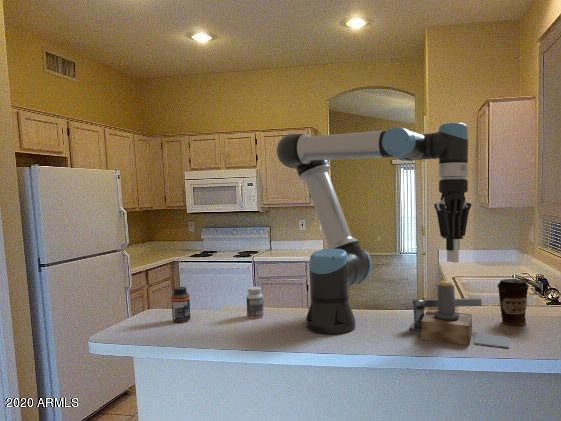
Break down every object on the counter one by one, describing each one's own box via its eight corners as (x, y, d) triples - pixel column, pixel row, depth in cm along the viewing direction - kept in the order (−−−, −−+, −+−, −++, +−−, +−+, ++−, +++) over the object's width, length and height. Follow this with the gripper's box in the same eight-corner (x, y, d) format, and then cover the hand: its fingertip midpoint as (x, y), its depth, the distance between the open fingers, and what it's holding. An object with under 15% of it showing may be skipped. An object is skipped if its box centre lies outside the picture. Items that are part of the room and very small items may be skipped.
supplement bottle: (177, 318, 139) (176, 285, 139) (193, 318, 138) (192, 285, 138) (169, 323, 133) (167, 289, 133) (185, 323, 132) (184, 289, 132)
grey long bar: (414, 308, 118) (414, 301, 118) (411, 305, 121) (410, 298, 121) (483, 307, 117) (483, 300, 117) (477, 304, 120) (477, 297, 120)
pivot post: (409, 329, 118) (408, 308, 118) (412, 325, 123) (411, 304, 123) (427, 332, 116) (426, 310, 116) (429, 327, 120) (428, 306, 120)
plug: (433, 337, 112) (431, 283, 111) (436, 330, 117) (435, 279, 117) (458, 340, 108) (457, 285, 108) (460, 333, 114) (459, 280, 114)
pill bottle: (248, 314, 141) (247, 286, 141) (264, 314, 140) (263, 286, 140) (245, 319, 135) (244, 289, 135) (262, 319, 135) (261, 289, 134)
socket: (421, 339, 110) (421, 320, 110) (427, 326, 121) (427, 310, 121) (469, 344, 105) (469, 325, 105) (471, 331, 115) (471, 314, 115)
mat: (474, 344, 105) (474, 342, 105) (475, 334, 112) (475, 333, 112) (509, 348, 101) (509, 346, 101) (508, 338, 108) (508, 337, 108)
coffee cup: (535, 328, 116) (534, 283, 116) (504, 327, 118) (503, 283, 118) (523, 319, 125) (522, 277, 125) (494, 318, 127) (493, 277, 126)
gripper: (448, 177, 107) (448, 265, 108) (480, 178, 113) (479, 261, 114) (426, 179, 114) (426, 261, 115) (457, 179, 120) (456, 258, 121)
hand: (452, 261), depth 114 cm, fingers closed
